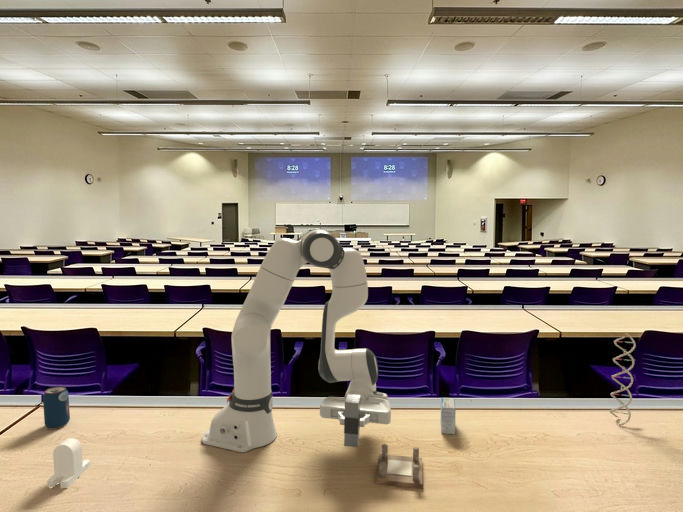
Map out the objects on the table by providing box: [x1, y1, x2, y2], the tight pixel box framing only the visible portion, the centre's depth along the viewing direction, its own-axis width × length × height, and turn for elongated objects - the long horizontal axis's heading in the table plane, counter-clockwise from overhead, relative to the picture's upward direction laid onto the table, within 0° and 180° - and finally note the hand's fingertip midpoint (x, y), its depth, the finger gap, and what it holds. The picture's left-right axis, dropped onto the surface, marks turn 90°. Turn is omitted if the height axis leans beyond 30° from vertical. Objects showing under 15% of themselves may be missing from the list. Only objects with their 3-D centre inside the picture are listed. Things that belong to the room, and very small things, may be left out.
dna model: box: [609, 332, 637, 426], centre depth 142 cm, size 7×6×30 cm
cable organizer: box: [46, 437, 91, 489], centre depth 113 cm, size 5×10×10 cm, turn 178°
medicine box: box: [440, 397, 457, 435], centre depth 139 cm, size 8×4×9 cm, turn 168°
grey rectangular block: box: [343, 394, 361, 448], centre depth 116 cm, size 4×5×13 cm
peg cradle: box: [374, 443, 424, 489], centre depth 115 cm, size 12×12×5 cm
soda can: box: [42, 385, 71, 429], centre depth 141 cm, size 7×7×12 cm
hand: (351, 423), depth 115 cm, fingers closed on grey rectangular block, 4 cm apart
